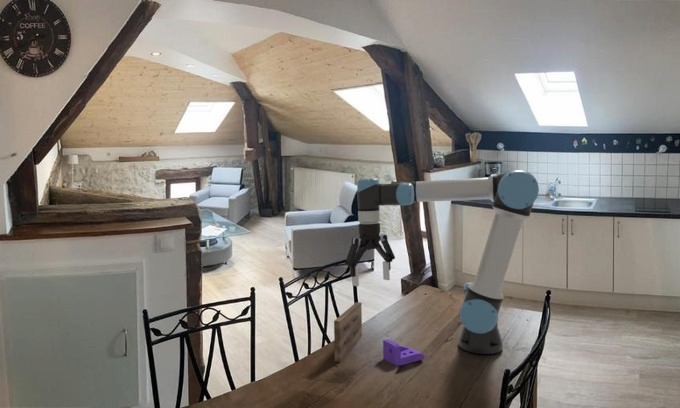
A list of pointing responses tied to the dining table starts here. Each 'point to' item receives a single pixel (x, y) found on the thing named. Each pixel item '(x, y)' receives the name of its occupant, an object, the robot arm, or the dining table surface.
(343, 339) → the upright wooden plank
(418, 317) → the dining table surface
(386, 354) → the bracket
